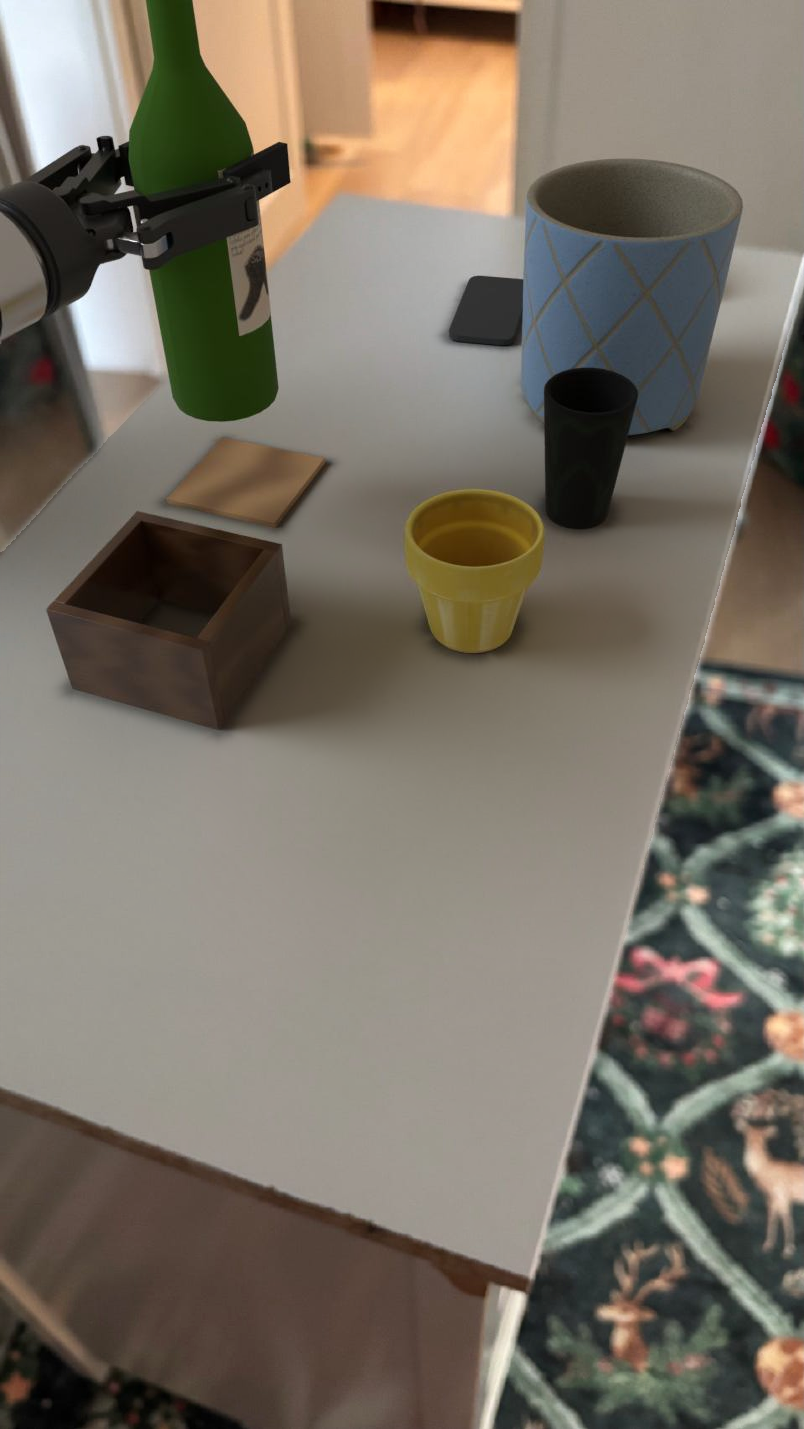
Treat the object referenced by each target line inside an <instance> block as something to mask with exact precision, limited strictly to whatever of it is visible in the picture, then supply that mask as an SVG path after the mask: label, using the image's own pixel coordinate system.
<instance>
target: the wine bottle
mask: <svg viewBox="0 0 804 1429" xmlns="http://www.w3.org/2000/svg"><path fill="white" fill-rule="evenodd" d="M145 5H146V12H147V18H148V19H147V20H148V25H149V26H148V27H149V33H150V40H151V46H152V54H153V61H152V62H153V63H152V69H151V72H150V74H149V77H148V79H147V82H146V85H145V88H144V91H143V93H142V96H141V98H140V100H139V104H138V106H137V109H136V111H135V115H134V117H133V120H132V122H131V125H130V128H129V130H128V141H129V164H130V169H131V175H132V180H133V186H134V187H133V190H138V191H140V192H141V193H142V194H143V195H150V194H154V193H159V192H163V191H167V190H172V189H176V188H181V187H185V186H189V185H194V184H198V183H203V182H207V181H211V180H216V179H220V178H223V170H225V169H227V168H229V167H230V166H232V165H234V164H236V163H238V162H240V161H242V160H244V159H246V158H248V157H250V156H252V155H254V154H255V150H254V145H253V142H252V139H251V136H250V132H249V129H248V126H247V123H246V121H245V119H244V118H243V117H242V115H241V114H240V113H239V111H238V109H237V108H236V107H235V105H234V104H233V103H232V101H231V100H230V98H229V97H228V95H227V94H226V92H225V91H224V90H223V89H222V87H221V85H220V83H218V82H217V80H216V79H215V77H214V75H213V74H212V73H211V71H210V70H209V68H208V67H207V65H206V63H205V61H204V59H203V57H202V54H201V48H200V41H199V36H198V35H199V34H198V29H197V22H196V15H195V8H194V0H145ZM257 209H258V219H259V224H258V225H257V226H255V227H253V228H250V229H248V230H245V231H242V232H240V233H237V234H235V235H232V236H229V237H227V238H224V239H222V240H219V241H216V242H214V243H211V244H209V245H206V246H203V247H201V248H198V249H196V250H193V251H190V252H188V253H185V254H183V255H180V256H177V257H175V258H173V259H172V260H171V261H169V262H168V263H166V264H165V265H163V266H162V267H161V268H159V269H155V270H148V271H149V277H150V282H151V288H152V292H153V298H154V305H155V310H156V314H157V315H156V316H157V321H158V325H159V330H160V336H161V342H162V346H163V352H164V358H165V363H166V368H167V374H168V379H169V385H170V389H171V391H170V392H171V395H172V399H173V400H174V402H175V404H176V406H177V408H178V409H179V410H180V411H181V412H182V413H184V414H185V415H186V416H188V417H191V418H194V419H196V420H200V421H206V422H216V423H217V422H218V423H219V422H220V423H223V422H235V421H240V420H243V419H248V418H250V417H251V418H252V417H253V416H255V415H257V414H260V413H262V412H263V411H266V409H268V408H269V407H270V406H271V405H272V404H273V403H275V401H276V398H277V395H278V392H279V387H280V386H279V380H278V368H277V360H276V351H275V350H276V349H275V342H274V341H275V340H274V332H273V331H274V330H273V321H272V310H271V300H270V292H269V283H268V273H267V262H266V253H265V243H264V236H263V226H262V216H261V207H260V200H258V201H257Z"/></svg>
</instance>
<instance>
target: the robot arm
mask: <svg viewBox="0 0 804 1429" xmlns="http://www.w3.org/2000/svg"><path fill="white" fill-rule="evenodd" d="M95 140H96V144H97V149H98V150H97V151H96V152H94V153H93V152H92V148H91V146H90V145H85V144H80V145H78V146H74V147H73V148H72V149H70V150H69V151H67V152H66V153H64V154H63V155H61V156H59V157H58V158H56V159H55V160H53V161H51V162H50V163H49V164H47V165H46V166H44V167H42V168H41V169H39V170H38V171H36V172H35V173H33V174H32V175H30V176H28V177H27V178H26V179H24V180H22V181H19V182H15V183H14V184H11V185H8V186H7V187H3V188H1V189H0V345H1V344H2V342H3V341H5V340H6V339H8V338H9V337H11V336H13V335H15V334H16V333H17V334H18V333H19V332H20V331H22V330H24V329H26V328H28V327H30V326H31V325H33V324H35V323H37V322H38V321H40V320H41V319H42V318H47V317H50V316H51V315H53V314H55V313H57V312H59V311H61V310H62V309H64V308H66V307H68V306H69V305H72V304H73V303H75V302H77V301H79V300H80V299H82V298H83V297H85V296H86V295H87V294H88V292H89V291H90V289H91V287H92V285H93V281H94V278H95V276H96V274H97V271H98V269H99V267H100V266H101V265H104V264H107V263H110V262H115V261H119V260H121V259H123V258H124V257H125V256H127V254H128V255H134V256H139V257H141V261H142V267H143V269H144V270H146V271H149V270H155V269H159V268H161V267H162V266H163V265H165V264H166V263H168V262H169V261H171V260H172V259H173V258H175V257H177V256H180V255H183V254H185V253H188V252H190V251H193V250H196V249H198V248H201V247H203V246H206V245H209V244H211V243H214V242H216V241H219V240H222V239H224V238H227V237H229V236H232V235H235V234H237V233H240V232H242V231H245V230H248V229H250V228H253V227H255V226H257V225H258V224H259V219H258V209H257V201H258V200H259V201H260V200H262V199H264V198H267V197H268V196H269V195H271V194H273V193H275V192H277V191H278V190H280V189H282V188H284V187H285V186H286V187H287V185H289V184H291V171H290V159H289V148H288V143H287V142H282V141H278V142H276V143H273V144H271V145H270V146H267V147H266V148H264V149H262V150H260V151H258V152H256V153H254V155H252V156H250V157H248V158H246V159H244V160H242V161H240V162H238V163H236V164H234V165H232V166H230V167H229V168H227V169H225V170H223V178H220V179H216V180H211V181H207V182H203V183H198V184H194V185H189V186H185V187H181V188H176V189H172V190H167V191H163V192H159V193H154V194H150V195H143V194H142V193H141V192H140V191H138V190H134V189H132V190H128V191H123V192H119V193H117V191H118V190H119V189H120V187H122V184H123V183H122V178H124V184H125V186H128V187H132V188H134V186H133V180H132V175H131V169H130V164H129V140H128V141H126V142H124V143H121V144H120V145H118V146H117V148H116V147H115V142H114V137H113V136H111V135H101V136H97V137H96V138H95ZM129 207H132V209H133V215H134V220H135V227H136V230H135V231H134V224H133V218H132V213H131V210H130V209H129Z"/></svg>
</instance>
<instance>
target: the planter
mask: <svg viewBox="0 0 804 1429" xmlns="http://www.w3.org/2000/svg"><path fill="white" fill-rule="evenodd" d="M525 200H526V201H525V223H524V224H525V226H524V227H525V228H524V248H523V249H524V251H523V252H524V254H523V276H522V277H523V278H522V279H523V313H522V319H521V320H522V324H521V358H520V360H521V361H520V387H521V392H522V396H523V399H524V400H525V402H526V404H527V406H528V407H529V408H530V410H531V411H532V412H533V413H534V415H535V416H536V418H538V419H539V421H540V422H541V423H543V424H544V387H545V384H546V383H547V381H548V380H549V379H550V378H552V377H553V376H554V375H556V374H558V373H560V372H562V371H565V370H569V369H574V368H600V369H606V370H610V371H614V372H616V373H618V374H621V375H623V376H624V377H626V378H628V379H629V380H630V381H631V382H632V383H633V384H634V385H635V386H636V388H637V391H638V399H637V403H636V407H635V410H634V414H633V418H632V422H631V426H630V430H629V434H628V436H633V435H634V436H635V435H642V434H648V433H652V432H656V431H659V430H665V429H669V430H670V431H672V432H675V431H676V430H678V429H680V428H681V427H682V425H683V424H685V423H686V422H687V420H688V418H689V416H690V415H691V413H692V412H693V410H694V407H695V405H696V404H697V400H698V397H699V394H700V390H701V386H702V382H703V378H704V373H705V370H706V366H707V361H708V357H709V352H710V348H711V345H712V341H713V336H714V331H715V328H716V323H717V321H718V316H719V311H720V308H721V304H722V300H723V299H722V298H723V295H724V291H725V288H726V284H727V279H728V275H729V271H730V267H731V266H730V265H731V261H732V258H733V253H734V248H735V244H736V240H737V236H738V231H739V226H740V224H741V219H742V214H743V208H744V202H743V198H742V196H741V195H740V193H739V191H737V190H736V188H735V187H733V186H732V185H731V184H730V183H728V182H727V181H725V180H724V179H722V178H720V177H718V176H716V175H715V174H712V173H710V172H707V171H705V170H701V169H699V168H695V167H692V166H688V165H685V164H679V163H675V162H670V161H663V160H658V159H657V160H656V159H643V158H605V159H593V160H586V161H581V162H575V163H572V164H567V165H564V166H561V167H558V168H555V169H553V170H551V171H549V172H546V173H544V174H543V175H541V176H540V177H538V178H536V179H535V180H534V181H533V183H531V185H530V186H529V188H528V190H527V193H526V198H525Z"/></svg>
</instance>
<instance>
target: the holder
mask: <svg viewBox="0 0 804 1429" xmlns="http://www.w3.org/2000/svg"><path fill="white" fill-rule="evenodd" d="M284 559H285V558H284V551H283V544H282V543H280V542H275V541H269V540H266V539H261V538H258V537H257V538H256V537H252V536H248V535H244V534H239V533H235V532H231V531H226V530H223V529H222V530H221V529H218V528H213V527H209V526H204V525H200V524H195V523H191V522H187V521H184V520H183V521H182V520H179V519H173V518H171V517H170V518H169V517H165V516H160V515H157V514H153V513H148V512H143V511H139V510H136V512H134V514H132V516H131V517H130V518H129V519H128V521H127V522H126V523H125V524H124V525H123V526H122V527H120V529H118V531H117V532H116V533H115V534H114V535H113V536H112V538H111V539H110V540H109V541H108V542H107V543H106V544H105V545H104V546H103V547H102V548H101V549H100V550H99V551H98V553H97V554H96V555H95V556H94V557H93V558H92V559H91V560H90V561H89V562H88V563H87V565H85V566H84V568H83V569H82V570H81V571H80V572H79V573H78V574H77V575H76V576H75V577H74V578H73V580H71V582H70V583H69V584H68V585H67V586H66V587H65V588H64V589H63V590H62V591H61V592H60V594H59V595H58V596H57V597H56V598H55V599H54V600H53V601H52V602H51V603H50V604H49V605H48V606H47V607H46V609H45V611H46V614H47V617H48V621H49V623H50V627H51V629H52V632H53V636H54V639H55V641H56V644H57V648H58V650H59V653H60V656H61V659H62V662H63V665H64V668H65V671H66V674H67V676H68V680H69V683H70V686H71V689H72V690H76V691H78V692H83V693H85V694H88V695H89V694H90V695H93V696H95V697H96V696H97V697H100V698H104V699H106V700H107V699H108V700H110V701H114V702H117V703H121V704H125V705H128V706H131V707H136V708H139V709H143V710H146V711H150V712H154V713H156V714H159V715H163V716H167V717H170V718H174V719H178V720H181V721H185V722H188V723H191V724H195V725H199V726H203V727H206V728H209V729H213V730H217V731H219V730H220V729H221V728H222V726H223V724H224V723H225V722H226V720H227V719H228V717H229V716H230V714H231V713H232V712H233V710H234V709H235V707H236V706H237V704H238V703H239V701H240V699H241V698H242V697H243V695H244V694H245V692H246V691H247V689H248V688H249V686H250V685H251V683H252V682H253V680H255V678H256V676H257V675H258V673H259V672H260V670H261V669H262V667H263V666H264V664H265V663H266V661H267V660H268V658H269V657H270V656H271V654H272V653H273V651H274V650H275V648H276V647H277V645H278V644H279V643H280V641H281V639H282V638H283V636H284V635H285V634H286V633H287V631H288V629H289V627H290V626H291V625H292V620H291V619H292V618H291V608H290V602H289V592H288V584H287V575H286V568H285V567H286V566H285V560H284ZM159 600H161V601H165V602H169V603H174V604H178V605H182V606H185V607H189V608H193V609H197V610H201V611H204V612H209V613H212V614H214V615H213V616H212V617H211V619H210V620H209V621H208V623H207V624H206V625H205V627H203V629H202V630H201V631H200V632H199V634H198V635H197V637H193V636H189V635H186V634H181V633H179V632H174V631H170V630H166V629H164V628H163V629H162V628H158V627H155V626H151V625H147V624H144V623H141V622H142V621H143V620H144V619H145V618H146V616H147V615H148V614H149V613H150V612H151V610H152V609H153V608H154V607H155V605H156V604H157V603H158V602H159Z"/></svg>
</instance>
